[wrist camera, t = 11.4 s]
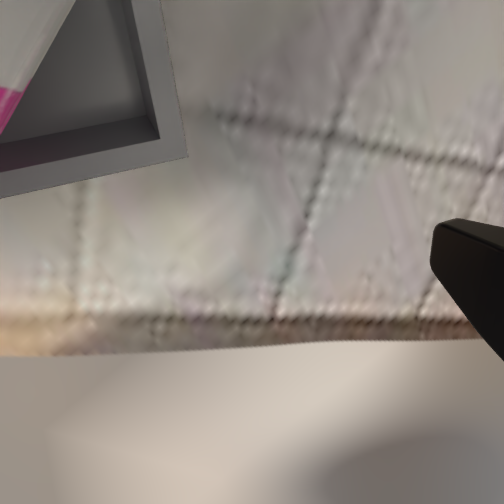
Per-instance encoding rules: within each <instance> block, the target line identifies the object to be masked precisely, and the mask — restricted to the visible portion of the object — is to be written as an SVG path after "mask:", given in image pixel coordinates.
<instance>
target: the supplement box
mask: <svg viewBox="0 0 504 504" xmlns="http://www.w3.org/2000/svg"><path fill="white" fill-rule="evenodd" d="M75 1H76V0H0V135H1V133H2V131H3V130H4V128H5V126H6V124H7V123H8V121H9V119H10V117H11V115H12V114H13V112H14V110H15V108H16V106H17V105H18V103H19V101H20V99H21V98H22V96H23V94H24V92H25V90H26V89H27V87H28V85H29V83H30V81H31V79H32V78H33V76H34V74H35V72H36V70H37V69H38V67H39V65H40V63H41V61H42V60H43V58H44V56H45V54H46V53H47V51H48V49H49V47H50V45H51V44H52V42H53V40H54V38H55V36H56V35H57V33H58V31H59V29H60V27H61V26H62V24H63V22H64V20H65V19H66V17H67V15H68V14H69V12H70V10H71V8H72V6H73V5H74V3H75Z"/></svg>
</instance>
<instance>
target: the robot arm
mask: <svg viewBox="0 0 504 504" xmlns="http://www.w3.org/2000/svg"><path fill="white" fill-rule="evenodd" d="M430 266H431V269H432V271H433V273H434V274H435V276H436V277H437V278H438V280H439V281H440V282H441V284H442V285H443V286H444V288H445V289H446V290H447V292H448V293H449V295H450V296H451V297H452V299H453V300H454V301H455V303H456V304H457V305H458V307H459V308H460V309H461V311H462V312H463V313H464V315H465V316H466V317H467V319H468V320H469V321H470V323H471V324H472V325H473V327H474V328H475V329H476V331H477V332H478V333H479V334H480V335H481V337H482V338H483V339H484V340H485V341H486V342H487V344H488V345H489V346H490V347H491V348H492V349H493V350H494V351H495V352H496V353H497V355H498V356H499V357H500V358H501V359H502V360H503V361H504V227H499V226H494V225H489V224H484V223H480V222H475V221H470V220H465V219H460V218H455V219H451V220H448V221H444V222H441V223H439V224H437V225H436V227H435V228H434V231H433V238H432V246H431V254H430Z"/></svg>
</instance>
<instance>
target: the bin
mask: <svg viewBox="0 0 504 504" xmlns="http://www.w3.org/2000/svg"><path fill="white" fill-rule="evenodd" d="M186 157H188V151H187V146H186V140H185V135H184V129H183V124H182V118H181V113H180V107H179V102H178V96H177V91H176V85H175V80H174V74H173V69H172V64H171V58H170V53H169V47H168V42H167V36H166V31H165V25H164V20H163V14H162V9H161V3H160V0H76V1H75V3H74V5H73V6H72V8H71V10H70V12H69V14H68V15H67V17H66V19H65V20H64V22H63V24H62V26H61V27H60V29H59V31H58V33H57V35H56V36H55V38H54V40H53V42H52V44H51V45H50V47H49V49H48V51H47V53H46V54H45V56H44V58H43V60H42V61H41V63H40V65H39V67H38V69H37V70H36V72H35V74H34V76H33V78H32V79H31V81H30V83H29V85H28V87H27V89H26V90H25V92H24V94H23V96H22V98H21V99H20V101H19V103H18V105H17V106H16V108H15V110H14V112H13V114H12V115H11V117H10V119H9V121H8V123H7V124H6V126H5V128H4V130H3V131H2V133H1V135H0V199H1V198H5V197H10V196H14V195H19V194H23V193H28V192H32V191H37V190H41V189H46V188H50V187H55V186H59V185H64V184H68V183H73V182H77V181H82V180H86V179H91V178H95V177H100V176H105V175H109V174H114V173H118V172H123V171H127V170H132V169H136V168H141V167H145V166H150V165H154V164H159V163H163V162H168V161H172V160H177V159H181V158H186Z"/></svg>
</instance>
